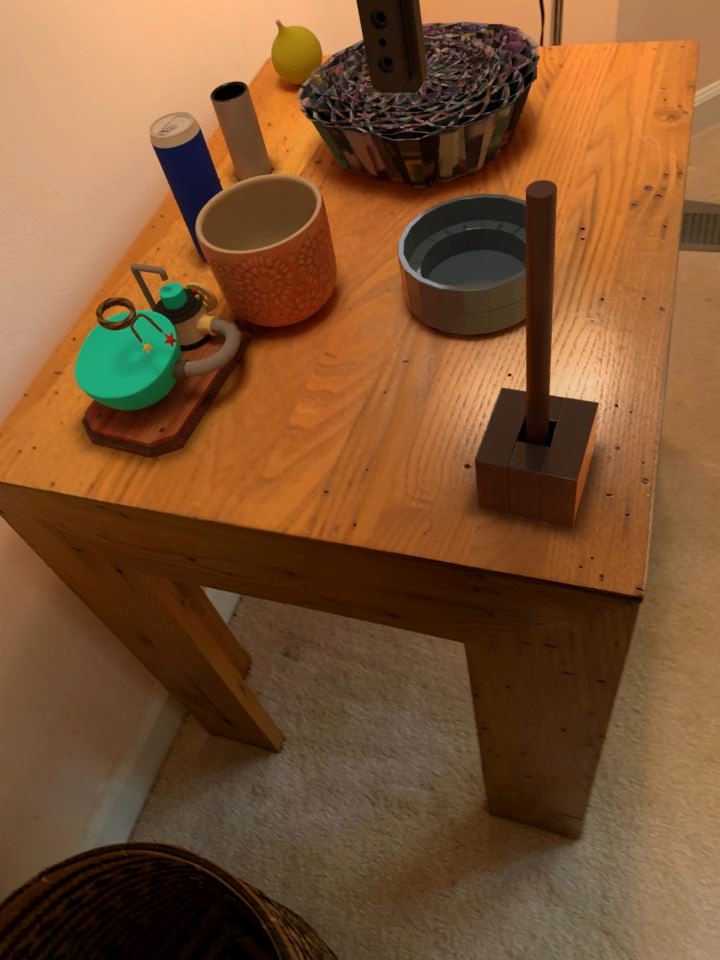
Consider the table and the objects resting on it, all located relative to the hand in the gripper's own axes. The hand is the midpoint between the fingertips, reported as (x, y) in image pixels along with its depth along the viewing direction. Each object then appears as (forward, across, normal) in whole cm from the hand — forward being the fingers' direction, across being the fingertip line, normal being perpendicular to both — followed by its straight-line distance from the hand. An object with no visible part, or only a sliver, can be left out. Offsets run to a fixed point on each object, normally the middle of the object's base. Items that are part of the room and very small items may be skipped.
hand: (432, 37), depth 32 cm
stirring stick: (+35, +2, -4) cm, 35 cm away
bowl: (+34, +24, +7) cm, 42 cm away
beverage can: (+34, +26, +38) cm, 57 cm away
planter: (+34, +19, +26) cm, 47 cm away
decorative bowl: (+34, +49, +21) cm, 63 cm away
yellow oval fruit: (+34, +63, +44) cm, 84 cm away
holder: (+35, +2, -4) cm, 35 cm away
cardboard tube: (+34, +41, +41) cm, 67 cm away
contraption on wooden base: (+34, +6, +32) cm, 47 cm away
